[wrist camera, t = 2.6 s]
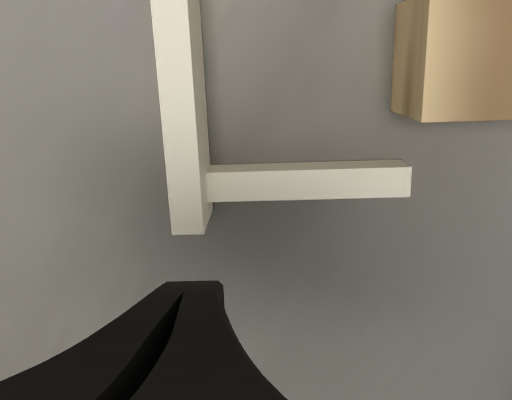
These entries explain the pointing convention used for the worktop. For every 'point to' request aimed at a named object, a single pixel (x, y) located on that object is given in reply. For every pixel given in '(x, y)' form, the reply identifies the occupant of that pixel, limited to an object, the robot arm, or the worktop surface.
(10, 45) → the worktop surface
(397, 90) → the oak block
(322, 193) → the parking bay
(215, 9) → the worktop surface
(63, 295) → the worktop surface
